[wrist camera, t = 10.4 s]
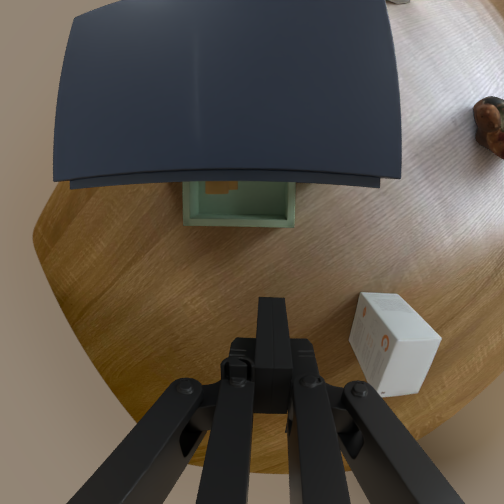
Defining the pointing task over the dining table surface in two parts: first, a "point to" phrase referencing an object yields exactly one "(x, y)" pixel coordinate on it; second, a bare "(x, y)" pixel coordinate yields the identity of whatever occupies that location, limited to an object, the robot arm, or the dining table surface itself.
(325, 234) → the dining table surface
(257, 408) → the robot arm
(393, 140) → the drawer cabinet
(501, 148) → the brown ceramic figurine
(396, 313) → the small box
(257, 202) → the storage tub
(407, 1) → the flask
